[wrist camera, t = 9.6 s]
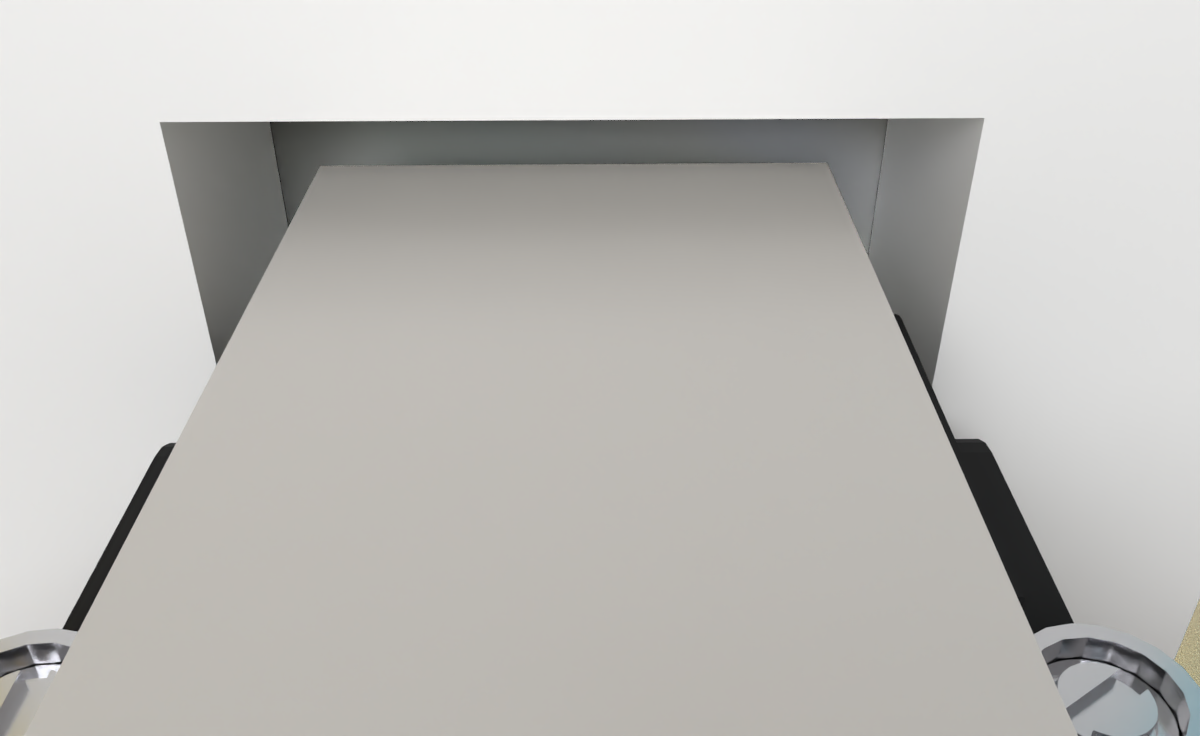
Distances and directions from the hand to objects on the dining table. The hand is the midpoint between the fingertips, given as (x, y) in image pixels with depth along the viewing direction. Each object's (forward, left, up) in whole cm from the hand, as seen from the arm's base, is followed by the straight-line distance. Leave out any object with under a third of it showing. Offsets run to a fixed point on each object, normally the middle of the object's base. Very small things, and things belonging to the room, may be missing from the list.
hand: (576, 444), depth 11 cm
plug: (0, 0, -1) cm, 1 cm away
